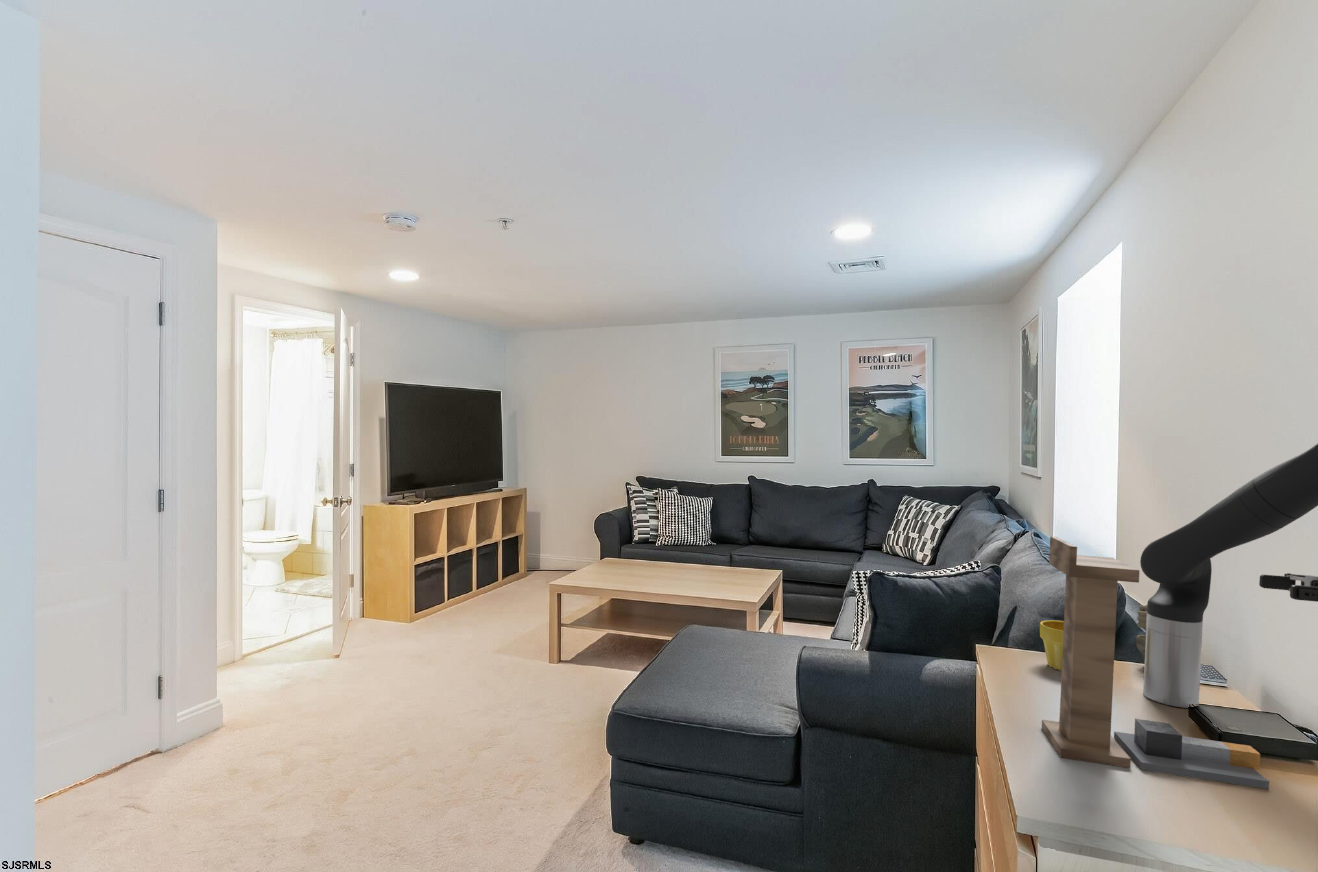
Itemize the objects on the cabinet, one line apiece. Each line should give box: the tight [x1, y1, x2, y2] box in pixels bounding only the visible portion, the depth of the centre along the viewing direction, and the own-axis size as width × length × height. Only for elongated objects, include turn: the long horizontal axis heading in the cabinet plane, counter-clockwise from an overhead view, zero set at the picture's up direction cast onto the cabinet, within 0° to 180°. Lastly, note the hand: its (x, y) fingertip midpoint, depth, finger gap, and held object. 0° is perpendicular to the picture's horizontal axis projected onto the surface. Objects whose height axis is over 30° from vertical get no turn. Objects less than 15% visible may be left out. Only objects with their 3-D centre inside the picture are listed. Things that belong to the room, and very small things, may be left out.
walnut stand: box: [1041, 535, 1140, 769], centre depth 117 cm, size 12×10×35 cm
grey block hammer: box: [1133, 718, 1261, 770], centre depth 112 cm, size 5×16×4 cm, turn 73°
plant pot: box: [1039, 619, 1064, 671], centre depth 159 cm, size 10×10×10 cm
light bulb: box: [1136, 604, 1147, 665], centre depth 161 cm, size 6×6×15 cm
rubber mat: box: [1113, 731, 1270, 790], centre depth 113 cm, size 12×17×1 cm
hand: (1275, 586), depth 111 cm, fingers open, 8 cm apart
